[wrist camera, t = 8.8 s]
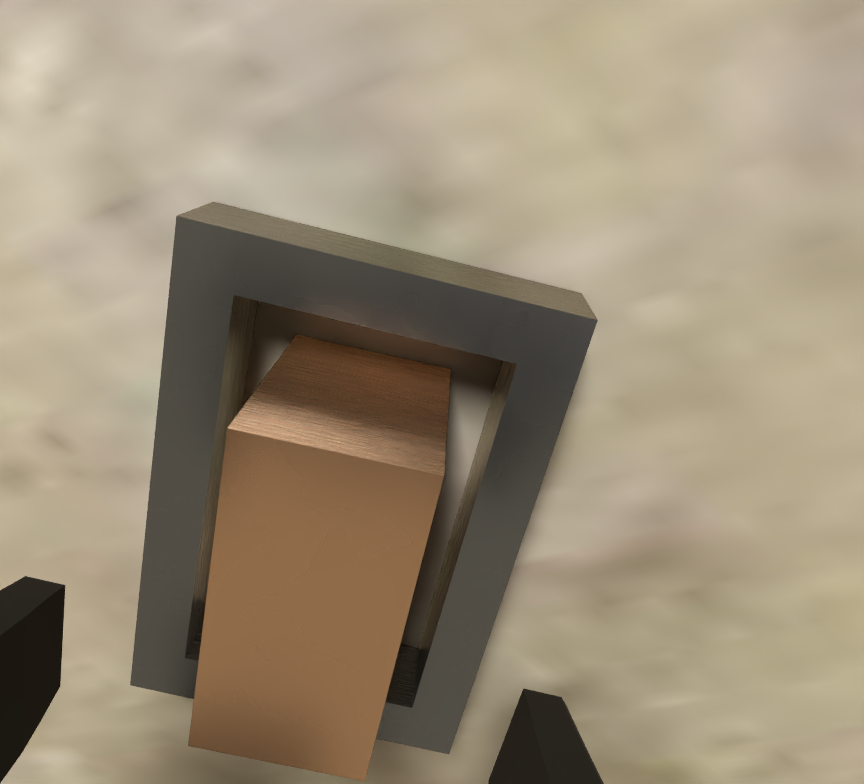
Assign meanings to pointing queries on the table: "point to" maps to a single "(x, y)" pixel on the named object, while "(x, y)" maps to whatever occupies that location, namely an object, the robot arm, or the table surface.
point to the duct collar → (382, 310)
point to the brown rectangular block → (318, 554)
